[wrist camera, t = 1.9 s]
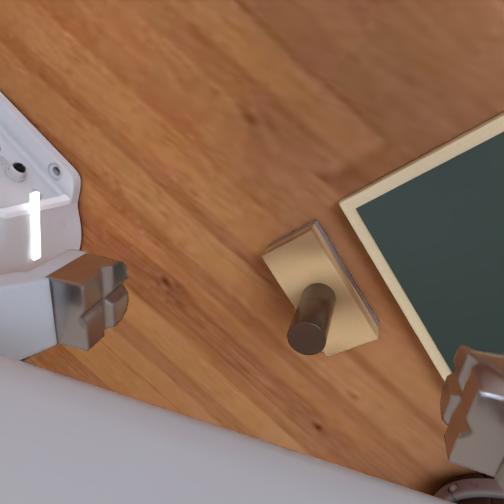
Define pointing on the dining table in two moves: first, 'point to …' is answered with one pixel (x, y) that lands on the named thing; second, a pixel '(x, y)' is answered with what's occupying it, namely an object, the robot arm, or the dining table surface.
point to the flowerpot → (472, 490)
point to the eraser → (320, 294)
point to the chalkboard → (442, 241)
